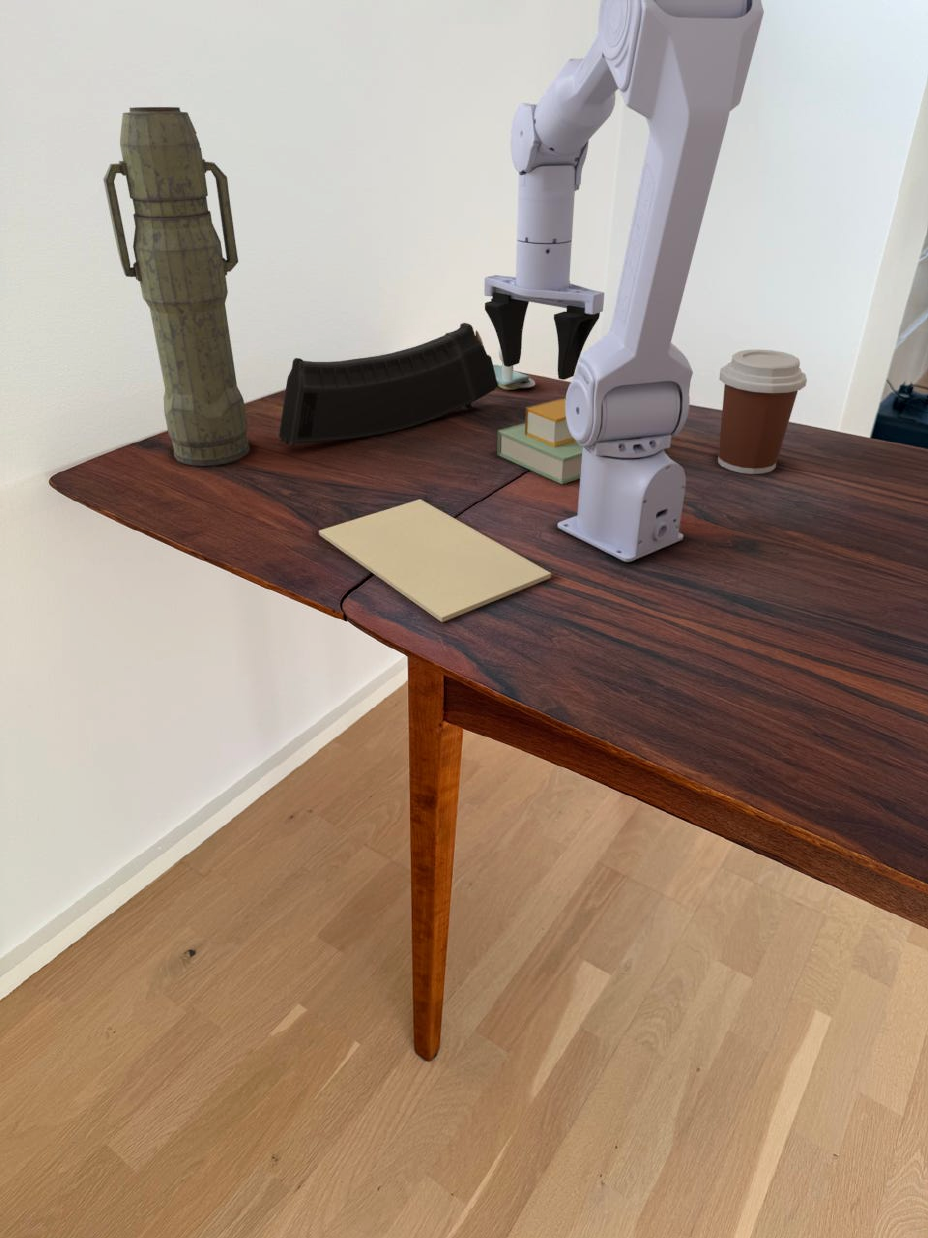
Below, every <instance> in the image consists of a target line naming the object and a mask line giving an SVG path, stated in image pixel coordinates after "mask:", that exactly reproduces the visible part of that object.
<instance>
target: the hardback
mask: <svg viewBox="0 0 928 1238" xmlns="http://www.w3.org/2000/svg"><path fill="white" fill-rule="evenodd" d="M496 445H497V447H496V448H497V449H496V455H497V456H499V457H501V458H503V459H505V460H507V461H509V462H512V463H514V464H515V465H519V466H521V467H523V468H525V469H527V470H529V471H531V472H533V473H536V474H538V475H541V476H542V477H545V478H547V479H549V480H551V481H553V482H556V483H558V484H560V485H564V484H567V483H570V482H573V481H577V480H580V476H581V463H582V450H583V446H581V445H579V444H578V443H577V442H576V441H574V442H571V443H567V444H564V445H561V446H557V447H553V446H551V445H548V444H546V443H543V442H541V441H539V440H536V439H534V438H532V437H529V436H527V435H525V422H523V423H520V424H516V425H513V426H509V427H505V428H502V429H498V430H497V444H496Z"/></svg>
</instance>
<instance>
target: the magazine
mask: <svg viewBox="0 0 928 1238" xmlns="http://www.w3.org/2000/svg"><path fill="white" fill-rule="evenodd" d="M493 365H494V363H493V358H492V356H491V355H490V354H488V353H487V351H486V348H485V346H484V342H483V340H482V337H481V335H480V333H479V331H478V330H475V331H474V328H473V326H472V324H470V323H468V322H462V323H460V325H459V328H457V329H455V330H453V331H450V332H446V333H445V334H444V335H442V336H440V337H437V338H435V339H432V340H429V341H427V342H423V343H421V344H418V345H415V346H413V347H409V348H405V349H401V350H397V351H394V352H391V353H390V352H389V353H385V354H381V355H374V356H367V357H359V358H352V359H345V360H339V361H338V360H336V361H309V360H303V359H302V358H299V357H295V358H293V360H292V365H291V369H290V371H289V374H288V376H287V379H286V385H285V393H284V400H283V405H282V406H283V407H282V412H281V420H280V428H279V433H278V437H279V439H280V442H282V443H283V444H285V445H287V446H295V445H299V444H300V445H301V444H309V443H310V444H311V443H323V442H334V441H345V440H346V441H347V440H355V439H361V438H362V439H363V438H368V437H375V436H380V435H384V434H389V433H393V432H399V431H401V430H405V429H410V428H412V427H415V426H419V425H423V424H425V423H428V422H431V421H433V420H435V419H438V418H440V417H442V416H446V415H447V414H450V413H452V412H454V411H457V410H459V409H462V408H464V407H465V408H466V409H468V410H469V411H472V410H473V409H474V408H473V405H472V404H473V403H474V402H476V401H478V400H479V399H481V398H483V397H484V396H487V395H488V394H490V393H492V392H493V391H495V390H496V389H497V387H498V383H497V380H496V376H495V371H494V367H493Z"/></svg>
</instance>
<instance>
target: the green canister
mask: <svg viewBox="0 0 928 1238" xmlns="http://www.w3.org/2000/svg"><path fill="white" fill-rule="evenodd" d="M128 108H129V112H123V113H122V118H121V127H120V135H119V136H120V138H119V146H120V147H119V148H120V152H121V157H122V158H121V159H122V160H118V163H110V164H109V166H108V169H107V170H106V173H105V174H104V177H103V185H104V189H105V194H106V199H107V204H108V208H109V209H108V210H109V214H110V220H111V223H112V224H111V225H112V229H113V234H114V238H115V244H116V248H117V249H116V250H117V252H118V257H119V261H120V265H121V268H122V270H123V274H124V276H125V277H128V278H135V280H136V281H138V282H139V284H140V290H141V295H142V298H143V300H144V302H145V304H146V306H147V307H148V308H149V313H150V316H151V317H150V318H151V322H152V328H153V332H154V333H153V334H154V338H155V343H156V349H157V354H158V360H159V364H160V370H161V375H162V380H163V385H164V395H163V412H164V418H165V422H166V428H167V433H168V436H169V438H170V439H171V443H172V447H173V456H174V458H175V459H176V461H177V462H180V463H182V464H184V465H188V466H198V467H208V466H210V467H211V466H218V465H223V464H228V463H232V462H235V461H238V460H241V459H242V458H244V457H245V456H247V455H248V454H249V452H250V444H249V440H248V433H247V431H248V427H249V426H248V419H247V412H246V405H245V401H244V397H243V396H242V393H241V391H240V389H239V387H238V384H237V383H238V382H237V377H236V369H235V362H234V356H233V348H232V342H231V334H230V329H229V320H228V314H227V307H226V302H227V297H228V294H229V290H228V284H227V277H226V276H227V275H228V273H229V272H232V270H233V269H234V268H235V267H236V266H237V264H238V263H239V256H238V250H237V244H236V236H235V228H234V222H233V221H234V220H233V212H232V206H231V199H230V191H229V182H228V181H229V180H228V176H227V175H226V174H225V173H224V172H223V171H222V170H221V168H220V167H219V166H218V165H217V164H216V163H215V162H213V161H206V159H204V158H203V151H202V147H201V145H200V141H199V138H198V136H197V131H196V129H195V126H194V124H193V122H192V119H191V117H190V114H189V113H188V111H181V108H180V107H178V106H142V107H141V106H140V107H139V106H137V107H128ZM209 171H210V172H211V174H212V176H213V177H214V178H215V184H216V192H217V199H218V207H219V213H220V222H221V229H222V235H223V242H224V250H225V257H226V258H224V255H223V248H222V242H221V239H220V237H219V235H218V232H217V230H216V228H215V226H214V224H213V221H212V213H211V211H210V210H209V205H208V199H207V197H208V196H209V193H208V186H207V179H206V174H207V172H209ZM117 174H121V175H122V177H123V176H125V177H126V184H127V190H128V195H129V198H130V199H131V200H132V204H133V205H132V206H133V210H134V213H133V214H132V215H133V222H134V226H135V227H134V235H133V244H132V249H133V255H134V259H135V262H133V264H132V266H131V261H130V255H129V250H128V244H127V241H126V234H125V229H124V225H123V220H122V215H121V210H120V205H119V204H120V203H119V200H118V194H117V189H116V184H115V181H116V175H117Z"/></svg>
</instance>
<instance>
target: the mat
mask: <svg viewBox="0 0 928 1238" xmlns="http://www.w3.org/2000/svg"><path fill="white" fill-rule="evenodd" d="M318 534H319V536H320V537H321V538H323V539H324V540H325V541H327V542H328V543H330V544H331V545H333V546H334V547H335V548H337V549H338V550H339V551H341V552H342V553H344V554H345V555H347V556H348V557H349V558H350V559H352V560H354V561H355V562H356V563H358V564H359V565H361V566H362V567H363V568H365V570H368V571H369V572H371V573H372V574H374V575H375V576H376V577H377V578H379V579H381V580H382V581H383V582H384V583H386V584H387V585H389V586H390V587H392V588H393V589H394V590H396V591H397V592H399V594H401V595H403V596H404V597H405V598H407V599H408V600H410V601H411V602H413V603H414V604H415V605H416V606H418V607H419V608H421V609H422V610H424V611H425V612H426V613H428V614H430V615H431V616H432V617H433V618H435V619H436V620H438V621H439V622H441V623H444V622H447V621H449V620H452V619H454V618H457V617H459V616H461V615H464V614H466V613H468V612H472V611H474V610H476V609H478V608H481V607H484V606H486V605H488V604H491V603H493V602H495V601H498V600H500V599H503V598H506V597H507V596H510V595H512V594H515V593H517V592H520V591H523V590H525V589H527V588H530V587H532V586H535V585H538V584H539V583H542V582H545V581H547V580H549V579H551V578H552V573H551V571H548V570H547V569H545V568H543V567H541V566H539V565H538V564H536V563H534V562H532V561H530V560H529V559H527V558H526V557H524V556H521V554H519V553H517V552H515V551H512V550H511V549H509V548H508V547H505V546H504V545H502V544H500V543H498V542H497V541H496V540H493V539H492V538H490V537H488V536H486V535H485V534H483V533H482V532H480V531H478V530H475V529H474V528H472V527H470V526H469V525H466V524H465V523H463V522H461V521H460V520H458V519H456V518H455V517H453V516H451V515H449V514H447V513H446V512H444V511H442V510H441V509H438V508H437V507H435V506H433V505H431V504H430V503H428V502H426V501H424V500H423V499H420V498H419V499H416V500H413V501H410V502H406V503H403V504H400V505H397V506H393V507H390V508H388V509H385V510H380V511H377V512H375V513H371V514H368V515H365V516H362V517H358V518H355V519H352V520H348V521H346V522H343V523H339V524H336V525H333V526H330V527H326V528H323V529H319V530H318Z"/></svg>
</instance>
